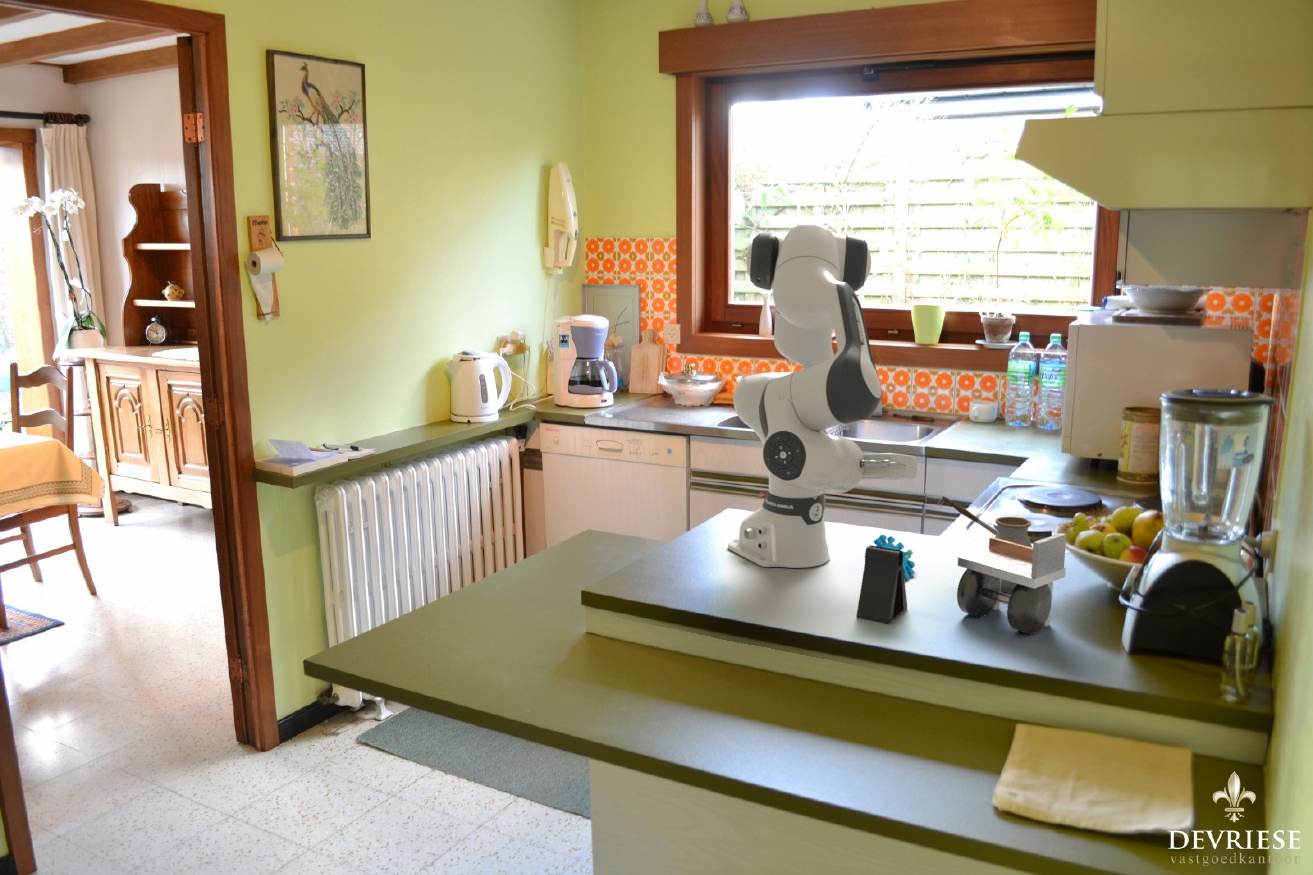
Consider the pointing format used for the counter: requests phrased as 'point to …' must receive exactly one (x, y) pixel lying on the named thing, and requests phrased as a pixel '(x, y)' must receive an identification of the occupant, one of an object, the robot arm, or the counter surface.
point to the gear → (906, 555)
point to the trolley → (1013, 580)
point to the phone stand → (882, 585)
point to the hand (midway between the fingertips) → (873, 471)
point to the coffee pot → (1001, 533)
